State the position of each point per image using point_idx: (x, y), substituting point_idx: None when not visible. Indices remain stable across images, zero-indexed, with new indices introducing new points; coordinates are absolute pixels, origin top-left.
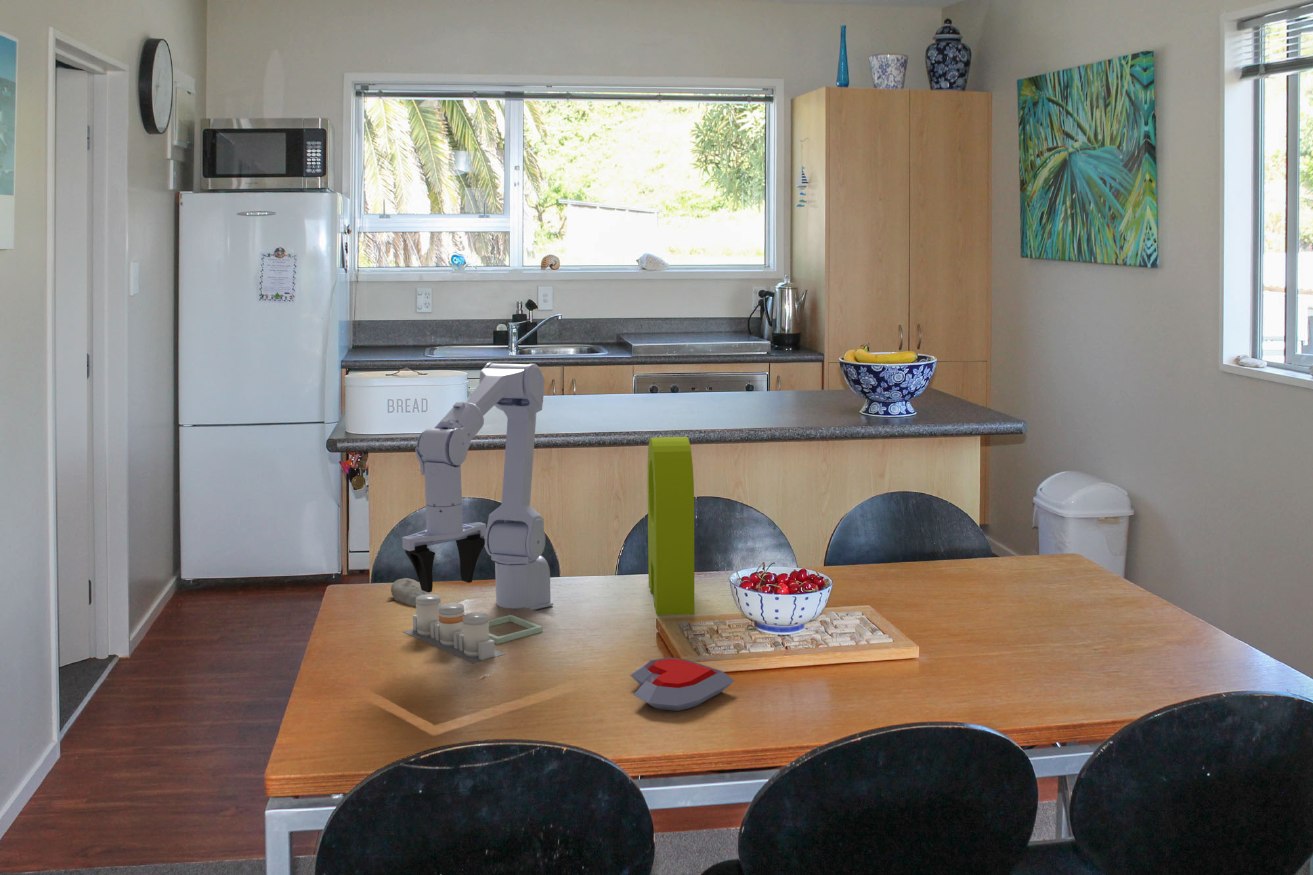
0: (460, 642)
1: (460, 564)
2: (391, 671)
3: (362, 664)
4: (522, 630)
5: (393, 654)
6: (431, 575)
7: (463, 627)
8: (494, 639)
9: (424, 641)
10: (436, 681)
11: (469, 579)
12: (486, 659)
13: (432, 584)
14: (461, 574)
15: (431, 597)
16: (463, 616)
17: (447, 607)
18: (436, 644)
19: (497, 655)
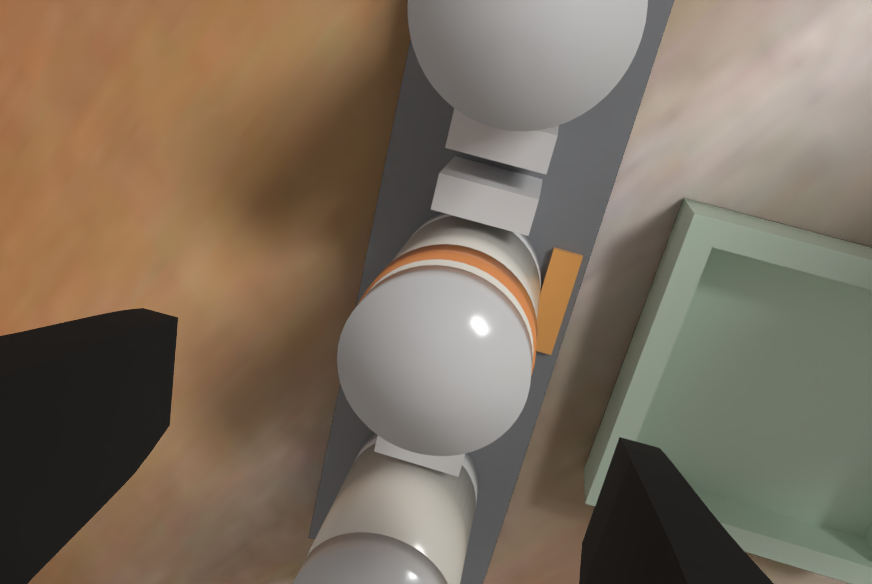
0: None
1: (659, 529)
2: (76, 233)
3: (31, 29)
4: (776, 541)
5: (222, 51)
6: (39, 558)
7: (314, 540)
8: (594, 471)
9: (394, 121)
10: (136, 472)
11: (583, 577)
12: None
13: (121, 485)
14: (622, 477)
15: (542, 38)
16: (318, 566)
17: (398, 361)
18: (394, 223)
19: None
